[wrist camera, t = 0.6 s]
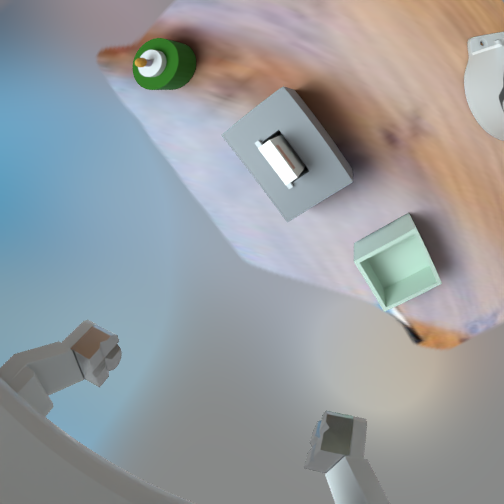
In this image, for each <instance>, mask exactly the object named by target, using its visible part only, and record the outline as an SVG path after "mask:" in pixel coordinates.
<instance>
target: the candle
mask: <svg viewBox="0 0 504 504" xmlns="http://www.w3.org/2000/svg"><path fill="white" fill-rule="evenodd" d="M195 69H196V57H195V54H194V52H193V50H192V49H191V48H190V47H189V46H187V45H185V44H183V43H179V42H175V41H171V40H167V39H162V38H156V39H152V40H150V41H148V42H146V43H145V44H144V45H143V46H142V47H141V48H140V49H139V50H138V52H137V53H136V55H135V58H134V61H133V74H134V77H135V80H136V81H137V83H138V84H139V85H140V86H141V87H143V88H145V89H149V90H173V89H178V88H181V87H182V86H184V85H185V84H187V83H188V82H189V81H190V79H191V78H192V76H193V74H194V72H195Z"/></svg>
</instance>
